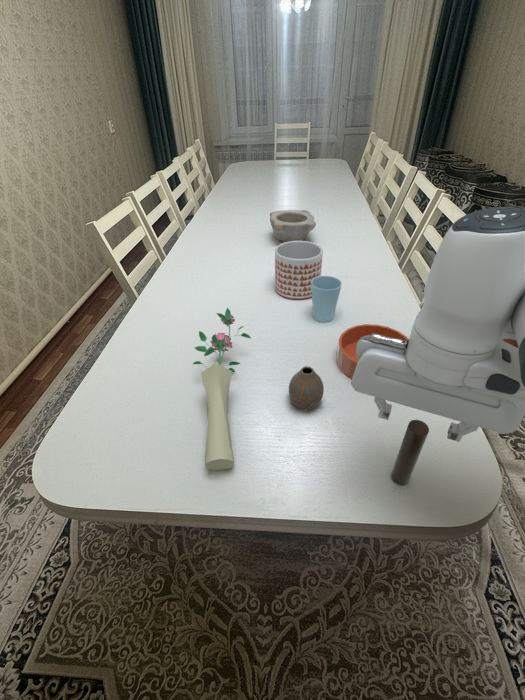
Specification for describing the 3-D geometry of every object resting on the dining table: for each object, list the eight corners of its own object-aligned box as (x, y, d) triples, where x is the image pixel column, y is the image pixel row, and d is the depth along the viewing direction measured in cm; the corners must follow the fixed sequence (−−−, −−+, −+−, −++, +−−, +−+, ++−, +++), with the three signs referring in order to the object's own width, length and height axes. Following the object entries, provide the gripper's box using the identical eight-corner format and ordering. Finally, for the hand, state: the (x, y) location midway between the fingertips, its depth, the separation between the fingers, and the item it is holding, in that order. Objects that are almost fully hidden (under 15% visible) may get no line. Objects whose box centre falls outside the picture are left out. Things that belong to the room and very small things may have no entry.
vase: (325, 394, 75) (328, 362, 69) (318, 418, 70) (321, 386, 64) (293, 387, 77) (294, 355, 71) (284, 410, 72) (284, 378, 66)
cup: (307, 323, 96) (309, 288, 89) (310, 308, 101) (312, 274, 95) (336, 326, 94) (340, 291, 88) (337, 310, 100) (341, 276, 94)
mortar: (316, 246, 136) (317, 222, 130) (271, 248, 135) (271, 224, 130) (309, 231, 149) (310, 208, 143) (268, 232, 148) (268, 209, 143)
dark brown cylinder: (409, 474, 60) (430, 423, 52) (407, 488, 58) (428, 437, 50) (392, 468, 61) (409, 417, 53) (389, 481, 59) (407, 431, 51)
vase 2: (284, 303, 104) (285, 262, 96) (268, 283, 114) (268, 244, 106) (327, 295, 107) (331, 254, 99) (308, 275, 117) (310, 237, 109)
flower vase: (207, 486, 67) (205, 344, 89) (269, 472, 65) (252, 330, 87) (176, 466, 58) (183, 313, 80) (247, 449, 56) (234, 297, 78)
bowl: (413, 350, 85) (418, 333, 82) (404, 395, 74) (409, 377, 71) (346, 335, 91) (348, 318, 88) (328, 374, 80) (330, 357, 76)
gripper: (353, 344, 44) (340, 418, 52) (550, 392, 37) (497, 469, 46) (364, 318, 48) (350, 390, 57) (541, 356, 42) (495, 432, 50)
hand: (417, 426), depth 51 cm, fingers open, 8 cm apart
